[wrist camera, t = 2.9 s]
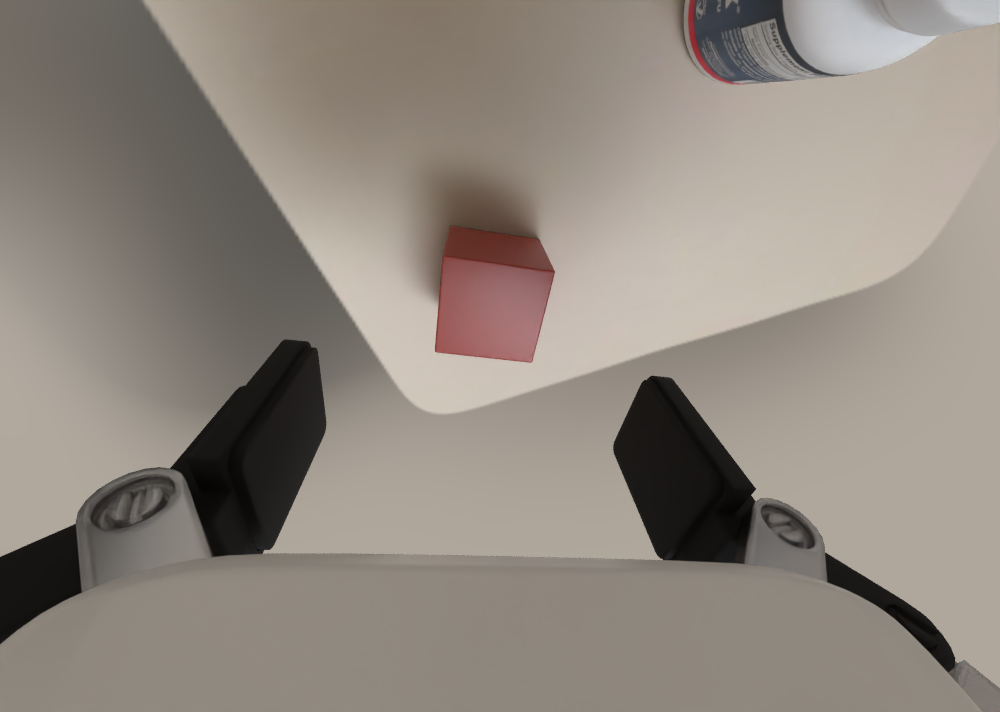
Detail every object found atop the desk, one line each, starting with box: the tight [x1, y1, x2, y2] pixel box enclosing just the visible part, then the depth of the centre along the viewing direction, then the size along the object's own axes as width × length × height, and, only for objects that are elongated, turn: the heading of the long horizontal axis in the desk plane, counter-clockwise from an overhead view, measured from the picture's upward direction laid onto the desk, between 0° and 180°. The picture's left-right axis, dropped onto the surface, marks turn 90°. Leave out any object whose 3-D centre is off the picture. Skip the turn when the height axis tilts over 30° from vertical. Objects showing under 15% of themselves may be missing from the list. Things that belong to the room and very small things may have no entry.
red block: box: [435, 226, 555, 363], centre depth 17 cm, size 4×4×4 cm
